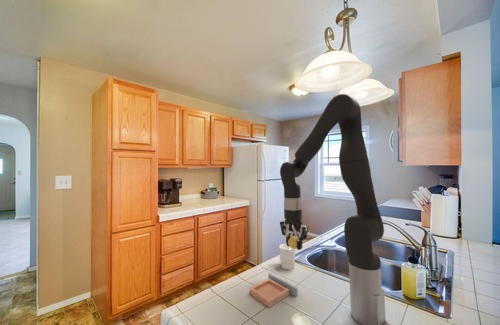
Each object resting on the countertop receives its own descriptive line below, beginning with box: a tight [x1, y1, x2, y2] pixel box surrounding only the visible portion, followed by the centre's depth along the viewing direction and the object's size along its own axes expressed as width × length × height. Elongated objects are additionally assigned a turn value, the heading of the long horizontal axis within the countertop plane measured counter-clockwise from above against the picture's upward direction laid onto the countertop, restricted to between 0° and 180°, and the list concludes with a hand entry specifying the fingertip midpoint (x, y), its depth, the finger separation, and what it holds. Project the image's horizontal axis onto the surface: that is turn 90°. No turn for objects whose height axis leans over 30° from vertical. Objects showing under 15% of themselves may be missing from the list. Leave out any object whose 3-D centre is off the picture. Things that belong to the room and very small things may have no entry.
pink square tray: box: [249, 278, 290, 308], centre depth 81 cm, size 11×11×2 cm
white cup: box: [278, 243, 296, 271], centre depth 104 cm, size 8×8×10 cm
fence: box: [267, 272, 299, 297], centre depth 85 cm, size 15×1×3 cm, turn 40°
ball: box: [288, 235, 297, 250], centre depth 89 cm, size 5×5×5 cm
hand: (294, 247), depth 89 cm, fingers closed on ball, 5 cm apart
